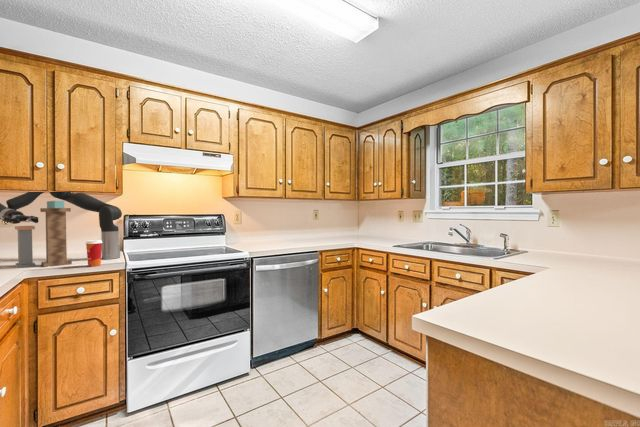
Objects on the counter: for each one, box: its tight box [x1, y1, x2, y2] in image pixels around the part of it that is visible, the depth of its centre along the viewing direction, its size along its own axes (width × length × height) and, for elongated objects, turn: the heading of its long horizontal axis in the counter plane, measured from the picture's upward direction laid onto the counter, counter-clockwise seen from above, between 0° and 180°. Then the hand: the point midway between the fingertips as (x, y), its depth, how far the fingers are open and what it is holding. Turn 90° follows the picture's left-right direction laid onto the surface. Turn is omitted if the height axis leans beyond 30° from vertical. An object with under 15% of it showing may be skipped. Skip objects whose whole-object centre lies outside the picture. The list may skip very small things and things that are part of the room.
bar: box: [46, 200, 65, 208], centre depth 178 cm, size 4×24×4 cm, turn 49°
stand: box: [39, 207, 72, 268], centre depth 178 cm, size 12×8×32 cm, turn 139°
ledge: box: [14, 225, 37, 269], centre depth 175 cm, size 7×12×22 cm, turn 49°
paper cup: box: [85, 239, 103, 268], centre depth 174 cm, size 8×8×14 cm
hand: (28, 221), depth 174 cm, fingers open, 8 cm apart
